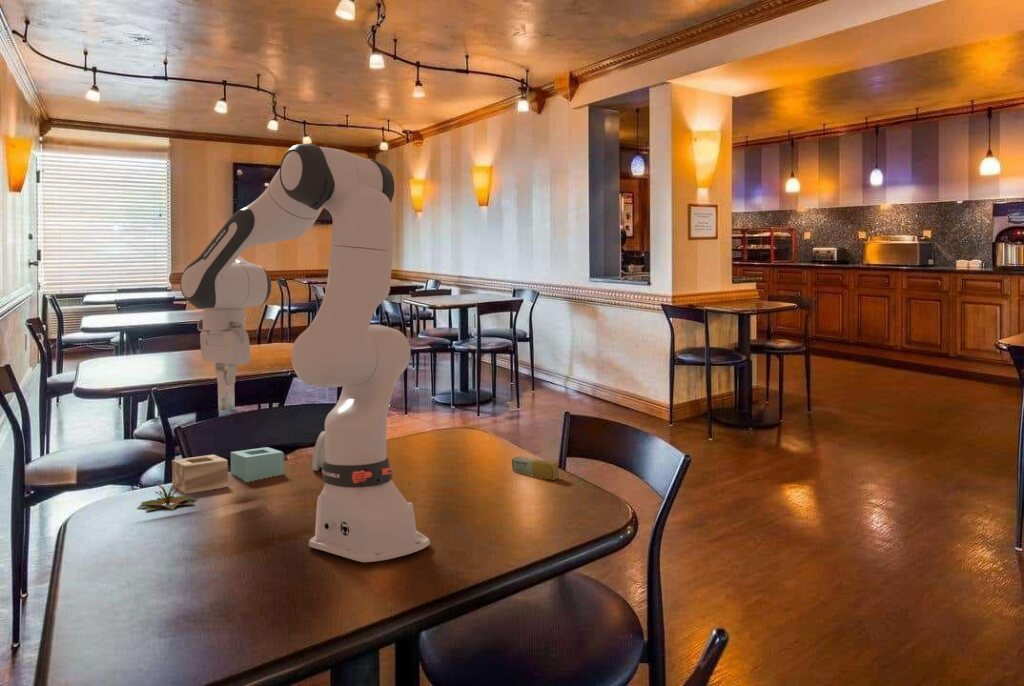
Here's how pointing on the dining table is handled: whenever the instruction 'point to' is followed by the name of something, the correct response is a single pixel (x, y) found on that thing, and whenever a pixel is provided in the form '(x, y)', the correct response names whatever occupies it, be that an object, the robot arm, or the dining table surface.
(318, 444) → the mechanical component
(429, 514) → the dining table surface
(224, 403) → the lock pin
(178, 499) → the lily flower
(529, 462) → the medication box
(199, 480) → the block
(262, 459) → the teal socket
